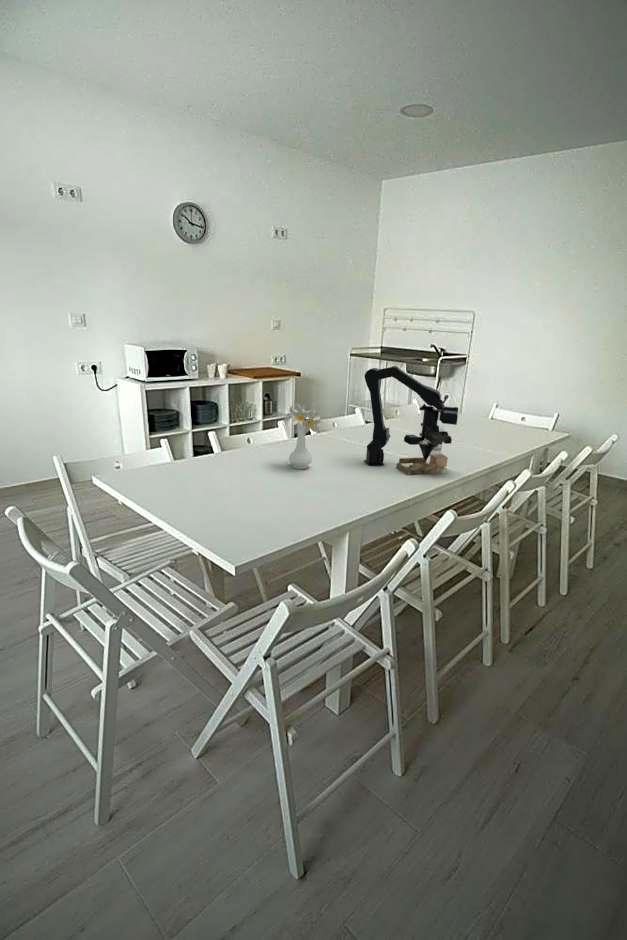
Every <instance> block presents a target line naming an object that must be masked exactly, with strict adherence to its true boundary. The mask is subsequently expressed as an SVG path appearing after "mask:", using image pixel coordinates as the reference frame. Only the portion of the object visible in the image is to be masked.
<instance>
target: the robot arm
mask: <svg viewBox="0 0 627 940" xmlns="http://www.w3.org/2000/svg"><path fill="white" fill-rule="evenodd" d="M389 378H394V379H395V380H396V381H398V382H400V383H401V384H403V385H404V386H406V387H407V388H409V389H410V390H411V391H412V392H414V393H416V394H417V395H418V396H419V397H420V398H421V400H422V401H423V402H424V403H423V404H422V406H420V407H419V409H418V410H419V411H423V418H422V422H420V426H421V432H419V436H418V435H415V434H405V435H404V437H403V442H405V444H406V443H407V444H408V445H412V446H413V445H414V446H415V445H417V446H419V448H420V451H421V455H422V457H423V458H424V460H426V461H428V458H430V457H429V456H430V453H431V451H432V450H433V448H434V447H436V446H438V445H439V444H440V445H441V444H442V445H443V444H446V445H448V444H450V445H451V444H452V441H453V439H452V437H451V435H449V432H448V431H445V430H444V431H443V432H439V426H438V425H437V422H438V414H439V412H440V421H441V422H442V423H443V425H444V424H445V425H453V426H455V425H457V424H458V417H459V414H458V412H459V407H458V406H454V407H453V406H445V404H444V402H443V400H442V394H441V392H440V391H439V390H438V389H436V388H434V387H430V386H427V385H425V384H423V383H422V382H419V381H418V380H417V379H415V378H414V377H412V376H411V375H410V374H408V373H407V372H405V371H404V370H402V369H401V368H399V366H397V365H392V366H390V367H385V368H380V369H379V368H377V367H372V368H369V369H368V370H366V371H365V373H364V380H365V384H366V386H367V388H368V391H369V394H370V395H369V396H370V404H371V411H372V420H373V430H372V440H371V441H370V442H369V443H368V444H367V445H366V456H365V460H364V461H363V462H364V463H366V464H367V465H369V466H384V465H385V463H384V460H385V459H384V458H385V453H384V449H383V448H384V447H385V446H387V444H388V443H389V440H390V438H391V435H390V427H386V425H385V422H384V421H385V419H384V413H383V405H382V404H383V403H382V394H381V387H382V380H383V379H389Z"/></svg>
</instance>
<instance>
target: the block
mask: <svg viewBox="0 0 627 940" xmlns="http://www.w3.org/2000/svg"><path fill="white" fill-rule="evenodd" d="M429 456H430V457H429V462H430V463H429V464H438V467H445V468H447V467H448V465H447V464H448V456H446V455H445V454H443V453H441V454H431V455H429Z"/></svg>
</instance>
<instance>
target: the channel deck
mask: <svg viewBox="0 0 627 940" xmlns="http://www.w3.org/2000/svg"><path fill="white" fill-rule="evenodd" d="M429 463H430V461H427V460H424V458H423V456H422V457H421V456H420V457H402V458H400V457H399V459H398V462H397V463H396V469H397V470H399V471H401V472H402V473H404V474H405V475H406V476H411V475H421V474H422V475H437V474H442V475H443V474H447V473H448V468H447V467H438V464H429ZM403 464H409V466H405V465H403Z"/></svg>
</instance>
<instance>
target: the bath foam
mask: <svg viewBox="0 0 627 940" xmlns="http://www.w3.org/2000/svg"><path fill="white" fill-rule="evenodd" d="M437 425H438V426H439V432H443V431H445V425H444V423H442V422H441V421H440V412H439V414H438V422H437ZM442 448H443V443H442V444H441V445H440V444H439V445H438V446H436V447H434V448H433V450H432V451H431V453H430V455H431V454H442ZM430 455H429V456H430Z"/></svg>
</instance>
